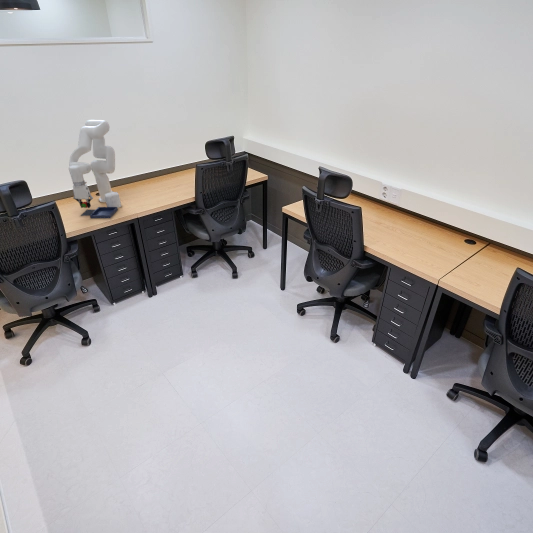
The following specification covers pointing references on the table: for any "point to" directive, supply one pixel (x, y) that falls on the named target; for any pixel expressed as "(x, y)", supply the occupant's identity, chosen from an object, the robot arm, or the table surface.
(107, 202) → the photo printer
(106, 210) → the tray
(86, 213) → the mat
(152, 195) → the table surface
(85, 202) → the strawberry
